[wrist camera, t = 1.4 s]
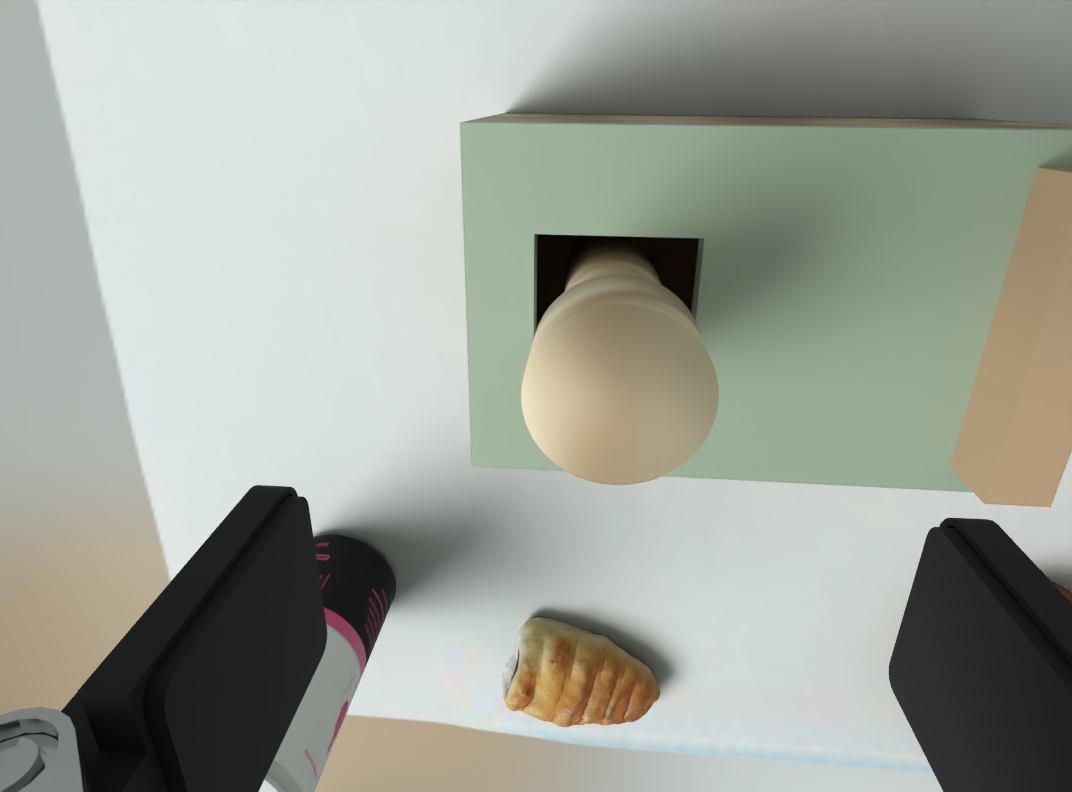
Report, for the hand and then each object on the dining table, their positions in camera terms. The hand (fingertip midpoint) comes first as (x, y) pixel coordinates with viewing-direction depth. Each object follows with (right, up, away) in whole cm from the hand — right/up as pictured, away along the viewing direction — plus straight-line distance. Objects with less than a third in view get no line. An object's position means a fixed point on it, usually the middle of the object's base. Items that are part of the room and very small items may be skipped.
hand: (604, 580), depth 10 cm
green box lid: (+7, +6, +13) cm, 16 cm away
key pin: (+2, +9, +21) cm, 23 cm away
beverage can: (-13, -8, +31) cm, 35 cm away
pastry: (+1, -13, +33) cm, 35 cm away
